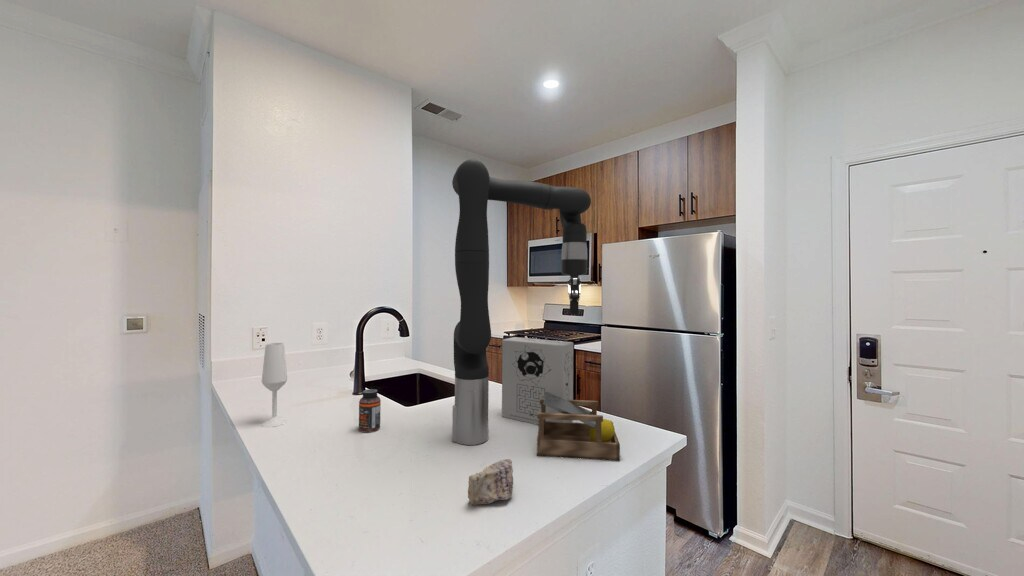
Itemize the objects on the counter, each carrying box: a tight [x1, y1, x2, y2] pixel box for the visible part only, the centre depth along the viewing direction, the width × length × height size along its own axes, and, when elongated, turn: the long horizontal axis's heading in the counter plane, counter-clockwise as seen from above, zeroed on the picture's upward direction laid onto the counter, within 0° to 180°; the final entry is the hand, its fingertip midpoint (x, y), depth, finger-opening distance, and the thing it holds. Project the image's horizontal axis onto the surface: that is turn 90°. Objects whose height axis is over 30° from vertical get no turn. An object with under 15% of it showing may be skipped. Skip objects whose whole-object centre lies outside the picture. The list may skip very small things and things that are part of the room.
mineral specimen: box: [467, 458, 514, 506], centre depth 79 cm, size 13×7×6 cm, turn 149°
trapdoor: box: [543, 391, 596, 428], centre depth 104 cm, size 14×10×2 cm
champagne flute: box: [261, 342, 288, 428], centre depth 120 cm, size 7×7×24 cm
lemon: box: [589, 418, 616, 443], centre depth 102 cm, size 6×6×8 cm
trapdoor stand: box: [536, 399, 621, 462], centre depth 103 cm, size 20×14×10 cm
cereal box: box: [501, 336, 574, 426], centre depth 124 cm, size 22×8×25 cm, turn 58°
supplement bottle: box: [358, 388, 382, 433], centre depth 115 cm, size 6×6×11 cm
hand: (573, 313), depth 117 cm, fingers open, 8 cm apart
